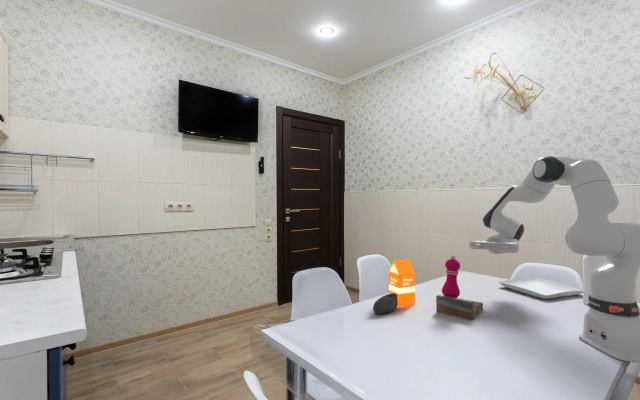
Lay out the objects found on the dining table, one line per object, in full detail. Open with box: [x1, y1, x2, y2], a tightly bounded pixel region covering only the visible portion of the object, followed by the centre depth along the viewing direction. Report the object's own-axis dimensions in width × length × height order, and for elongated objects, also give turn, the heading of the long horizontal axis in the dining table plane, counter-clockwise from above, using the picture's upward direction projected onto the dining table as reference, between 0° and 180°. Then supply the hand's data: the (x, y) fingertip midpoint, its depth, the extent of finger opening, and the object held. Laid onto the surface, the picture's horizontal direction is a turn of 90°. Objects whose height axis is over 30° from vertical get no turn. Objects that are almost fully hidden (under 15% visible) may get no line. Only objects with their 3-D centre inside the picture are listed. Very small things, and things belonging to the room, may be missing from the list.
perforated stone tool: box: [372, 293, 398, 315], centre depth 137 cm, size 15×5×7 cm, turn 128°
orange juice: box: [388, 259, 416, 308], centre depth 147 cm, size 8×9×20 cm
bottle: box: [582, 255, 606, 306], centre depth 144 cm, size 8×8×30 cm
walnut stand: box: [435, 294, 484, 321], centre depth 137 cm, size 16×14×7 cm
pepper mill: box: [441, 254, 461, 298], centre depth 139 cm, size 7×7×20 cm
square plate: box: [498, 277, 583, 300], centre depth 166 cm, size 27×27×4 cm
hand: (490, 247), depth 144 cm, fingers open, 8 cm apart
